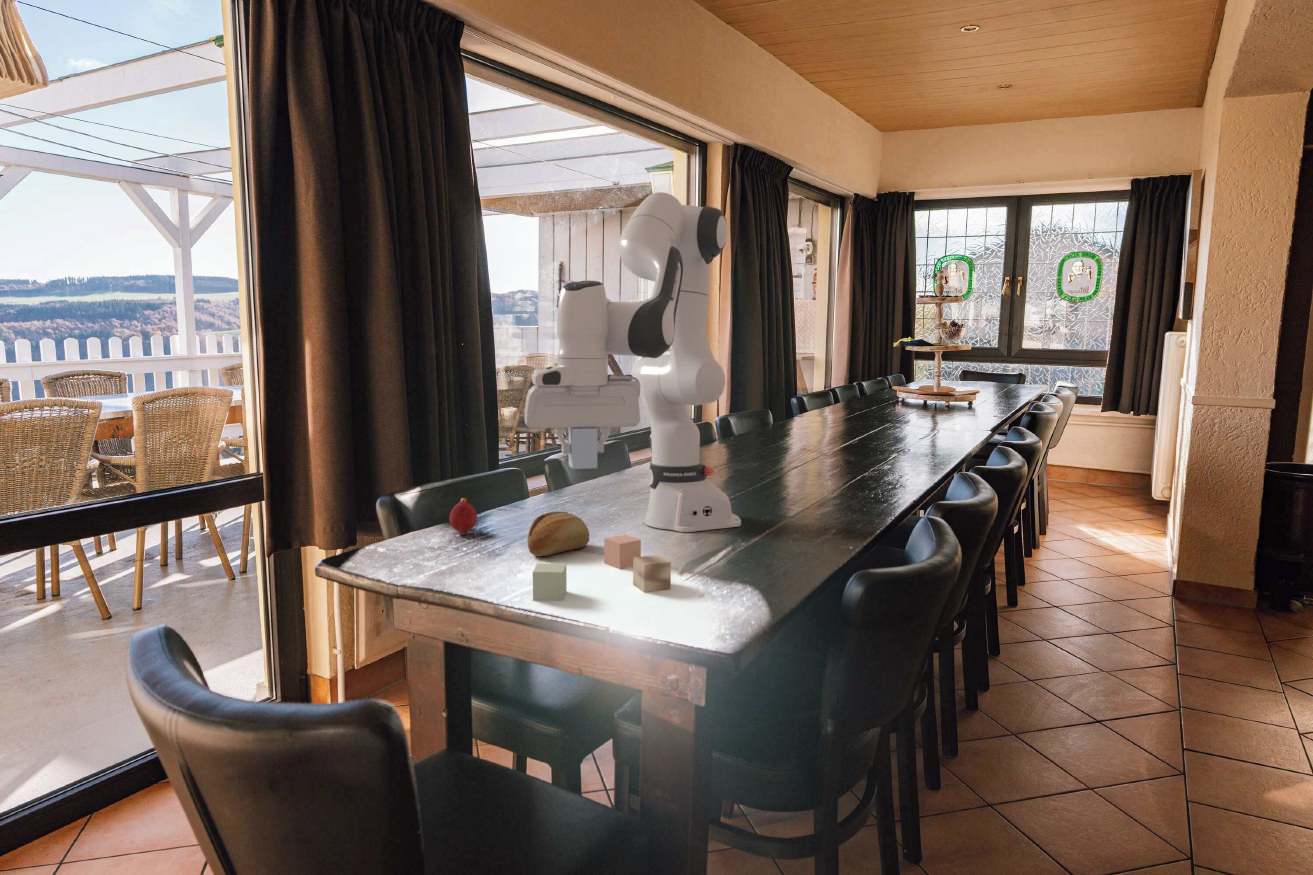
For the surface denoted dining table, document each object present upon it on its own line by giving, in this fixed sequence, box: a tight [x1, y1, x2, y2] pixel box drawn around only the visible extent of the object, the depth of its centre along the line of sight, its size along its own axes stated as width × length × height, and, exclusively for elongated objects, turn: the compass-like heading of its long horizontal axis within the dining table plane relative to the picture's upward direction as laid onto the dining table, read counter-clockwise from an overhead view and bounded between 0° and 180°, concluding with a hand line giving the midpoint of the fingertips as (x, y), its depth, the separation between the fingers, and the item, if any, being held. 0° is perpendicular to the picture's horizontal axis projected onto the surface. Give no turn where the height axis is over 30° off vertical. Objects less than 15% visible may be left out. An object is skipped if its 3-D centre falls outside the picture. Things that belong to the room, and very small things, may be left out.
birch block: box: [632, 554, 672, 594], centre depth 145 cm, size 5×5×5 cm
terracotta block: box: [603, 534, 642, 570], centre depth 159 cm, size 5×5×5 cm
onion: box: [448, 497, 478, 534], centre depth 181 cm, size 6×6×8 cm
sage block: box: [532, 563, 568, 602], centre depth 140 cm, size 5×5×5 cm
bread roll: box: [527, 511, 590, 557], centre depth 168 cm, size 10×15×8 cm, turn 143°
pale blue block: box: [568, 427, 598, 470], centre depth 146 cm, size 4×4×7 cm
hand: (582, 452), depth 147 cm, fingers closed on pale blue block, 4 cm apart
